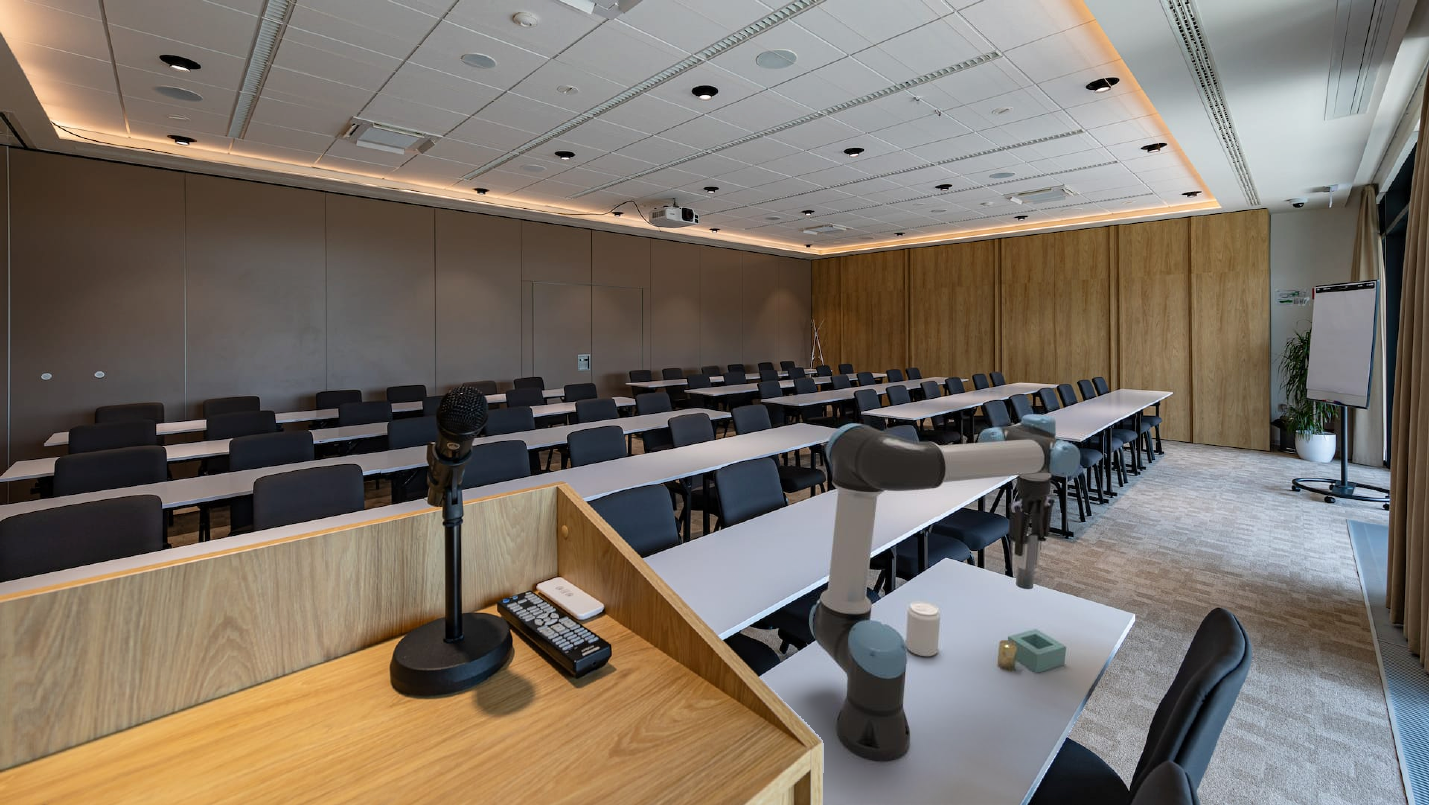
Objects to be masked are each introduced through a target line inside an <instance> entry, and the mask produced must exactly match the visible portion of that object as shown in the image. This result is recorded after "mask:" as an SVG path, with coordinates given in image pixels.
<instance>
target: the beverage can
mask: <svg viewBox="0 0 1429 805" xmlns="http://www.w3.org/2000/svg"><path fill="white" fill-rule="evenodd" d="M940 622H941V613H940V610H939V608H938V606H936V605H935V604H933V603H932V602H928V601H922V600H921V601H920V600H919V601H918V600H917V601H913V602H911V603H910V605H909V607H908V609H907V618H906V633H905V634H906V635H905V637H906V638H905V645H906V650H907V651H909V652H911V653H912V654H915V655H917V656H922V657H932V656H935V655H936V654H937V653H938V650H939V640H940V639H939V636H940V625H941V624H940Z"/></svg>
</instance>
